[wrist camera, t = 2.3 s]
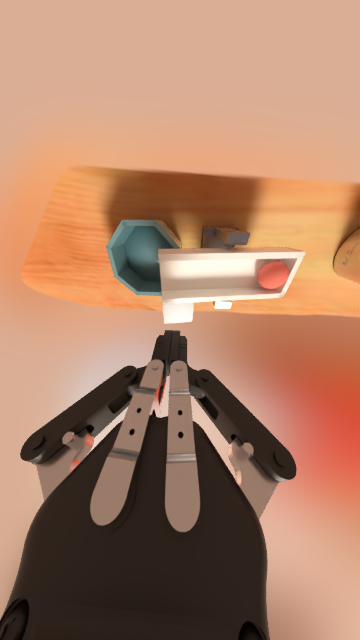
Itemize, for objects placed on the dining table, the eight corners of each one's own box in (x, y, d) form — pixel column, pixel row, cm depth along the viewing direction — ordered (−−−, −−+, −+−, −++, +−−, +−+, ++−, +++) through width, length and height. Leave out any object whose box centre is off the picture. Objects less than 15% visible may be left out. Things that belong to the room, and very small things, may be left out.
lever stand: (236, 226, 21) (266, 231, 13) (225, 280, 26) (241, 309, 18) (203, 226, 21) (212, 231, 13) (198, 280, 26) (203, 308, 18)
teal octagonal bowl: (182, 219, 21) (180, 220, 17) (181, 283, 27) (179, 296, 23) (117, 219, 21) (98, 219, 17) (130, 282, 28) (119, 294, 23)
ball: (283, 258, 16) (301, 265, 14) (272, 283, 18) (287, 293, 16) (257, 258, 16) (271, 265, 14) (250, 283, 18) (260, 292, 16)
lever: (269, 243, 19) (306, 251, 14) (249, 303, 24) (270, 322, 19) (158, 244, 17) (158, 254, 13) (163, 307, 23) (164, 330, 18)
